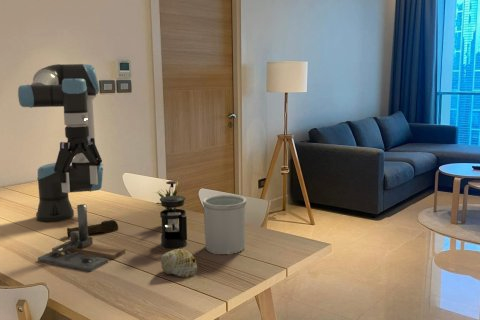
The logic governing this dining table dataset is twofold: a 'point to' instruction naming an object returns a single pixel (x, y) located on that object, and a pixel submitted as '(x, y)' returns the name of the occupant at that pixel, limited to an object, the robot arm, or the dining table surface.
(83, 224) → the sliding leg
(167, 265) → the seashell
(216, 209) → the utensil holder
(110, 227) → the hand tool
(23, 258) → the dining table surface
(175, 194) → the house plant
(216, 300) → the dining table surface
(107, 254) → the grey lever handle base
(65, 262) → the bolt plate
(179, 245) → the french press
